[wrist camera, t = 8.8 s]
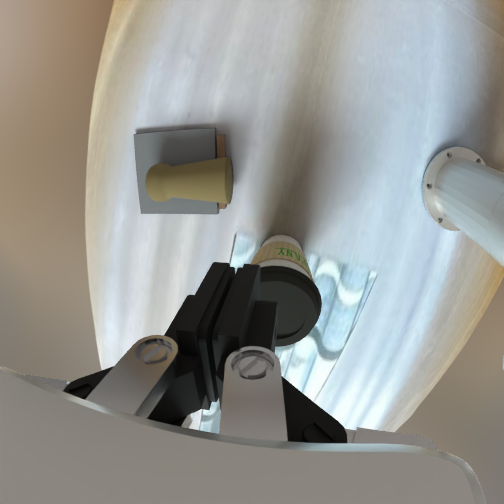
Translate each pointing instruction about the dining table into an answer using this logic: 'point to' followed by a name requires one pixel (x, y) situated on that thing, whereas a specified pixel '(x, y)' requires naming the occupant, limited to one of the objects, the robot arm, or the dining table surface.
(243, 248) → the dining table surface
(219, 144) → the walnut strip
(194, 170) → the cork
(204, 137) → the charcoal mat
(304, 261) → the coffee cup
